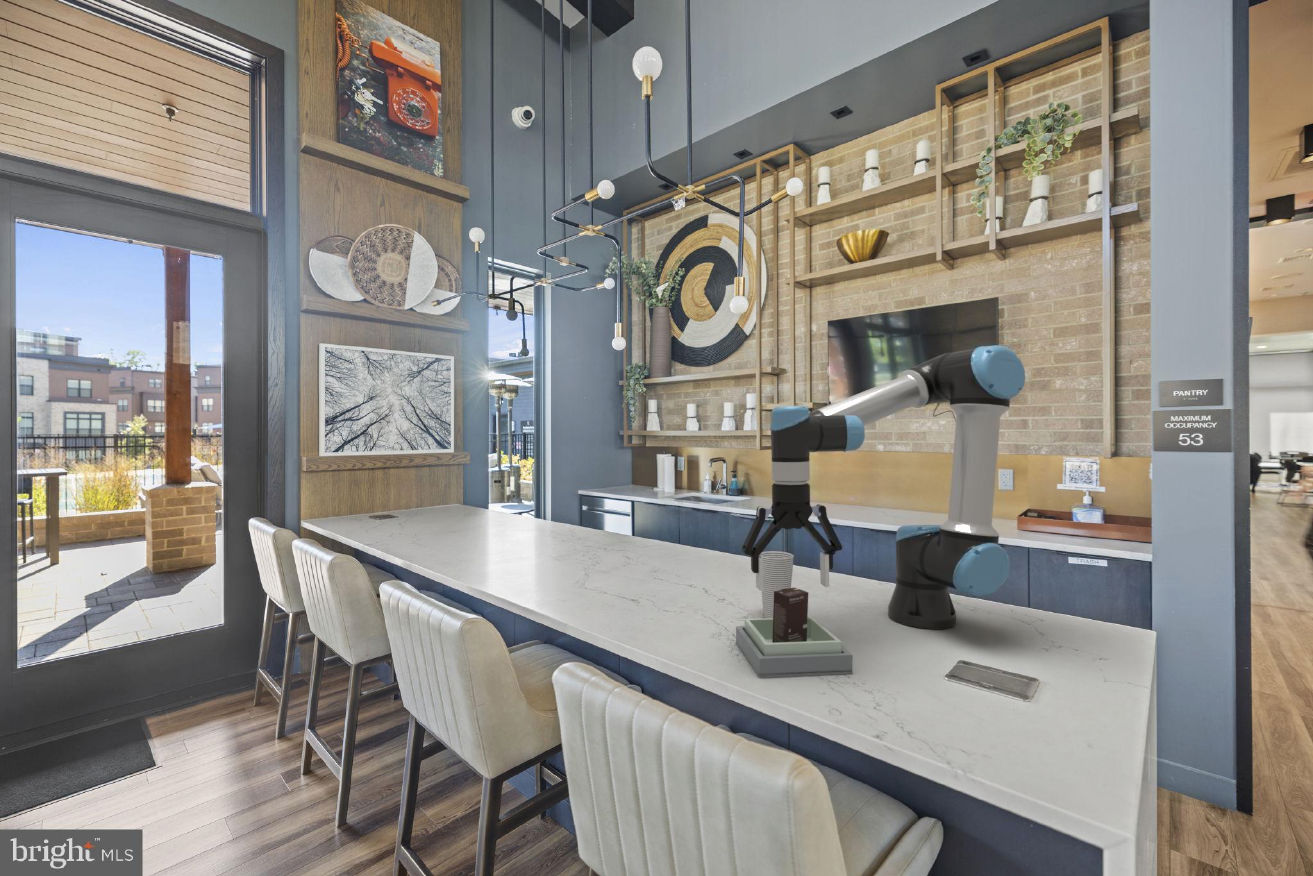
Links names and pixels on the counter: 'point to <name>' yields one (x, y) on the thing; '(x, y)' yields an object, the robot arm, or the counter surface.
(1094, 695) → the counter surface
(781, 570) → the cup
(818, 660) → the crates
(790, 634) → the box
